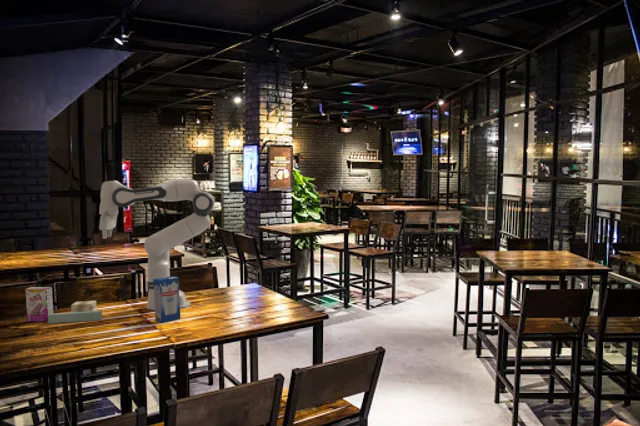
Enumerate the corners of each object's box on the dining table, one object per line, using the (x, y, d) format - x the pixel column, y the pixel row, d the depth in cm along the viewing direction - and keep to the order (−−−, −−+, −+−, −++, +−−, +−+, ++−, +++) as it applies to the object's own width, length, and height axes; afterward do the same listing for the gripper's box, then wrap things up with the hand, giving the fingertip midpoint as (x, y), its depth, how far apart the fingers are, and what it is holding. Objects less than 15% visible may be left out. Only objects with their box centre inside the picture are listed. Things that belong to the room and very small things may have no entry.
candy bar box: (26, 322, 262) (24, 288, 261) (33, 319, 267) (30, 286, 266) (48, 322, 261) (46, 288, 260) (54, 319, 266) (52, 286, 265)
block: (96, 311, 280) (96, 300, 280) (92, 315, 272) (91, 303, 272) (76, 313, 278) (75, 301, 278) (71, 316, 271) (71, 305, 270)
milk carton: (174, 316, 262) (172, 276, 261) (180, 318, 258) (178, 277, 257) (155, 320, 255) (153, 279, 254) (161, 322, 251) (159, 280, 250)
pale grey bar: (102, 318, 264) (101, 310, 264) (100, 319, 261) (100, 311, 261) (50, 321, 261) (50, 313, 261) (48, 323, 258) (47, 315, 258)
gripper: (110, 212, 270) (108, 240, 270) (119, 210, 290) (117, 236, 290) (96, 211, 269) (95, 239, 269) (107, 210, 289) (105, 235, 290)
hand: (107, 237), depth 280 cm, fingers open, 8 cm apart
